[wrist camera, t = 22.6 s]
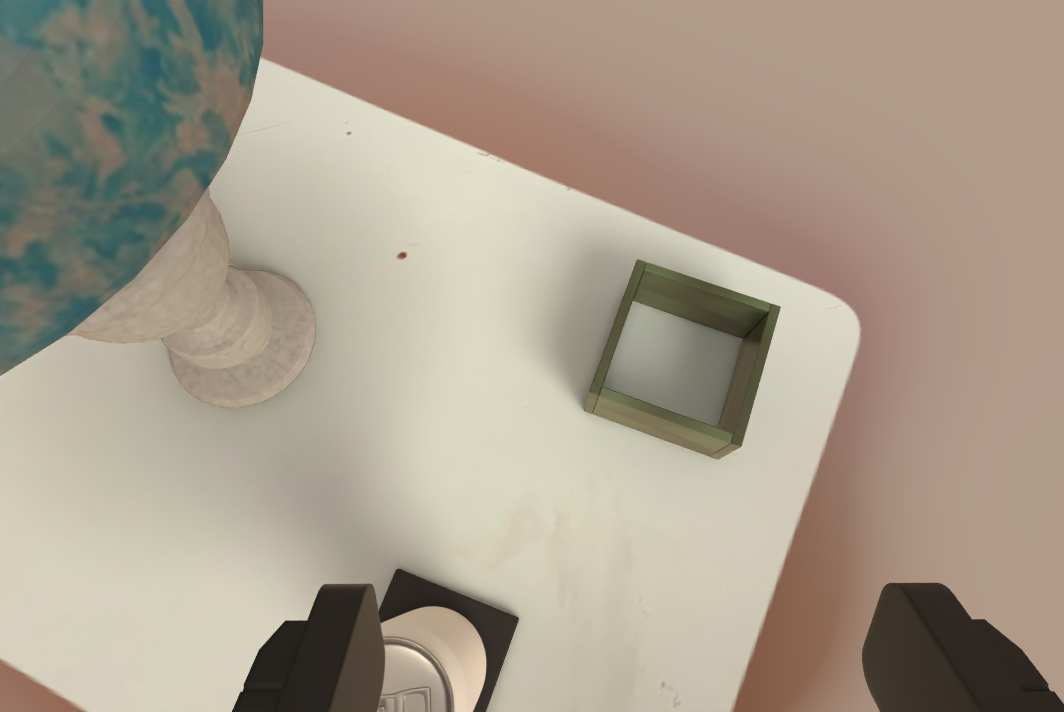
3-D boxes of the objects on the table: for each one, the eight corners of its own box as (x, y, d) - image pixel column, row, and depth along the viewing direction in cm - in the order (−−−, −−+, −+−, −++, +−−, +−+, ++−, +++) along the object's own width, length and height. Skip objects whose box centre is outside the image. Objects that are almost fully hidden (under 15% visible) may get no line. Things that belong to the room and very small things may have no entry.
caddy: (754, 333, 44) (781, 306, 39) (718, 459, 41) (741, 446, 37) (627, 290, 45) (637, 258, 40) (583, 410, 43) (589, 392, 38)
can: (377, 608, 38) (309, 629, 27) (486, 602, 38) (463, 621, 27) (375, 730, 36) (300, 808, 25) (489, 724, 36) (466, 799, 25)
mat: (519, 618, 39) (518, 618, 38) (468, 759, 37) (467, 762, 36) (398, 568, 40) (396, 568, 39) (341, 703, 37) (338, 706, 37)
